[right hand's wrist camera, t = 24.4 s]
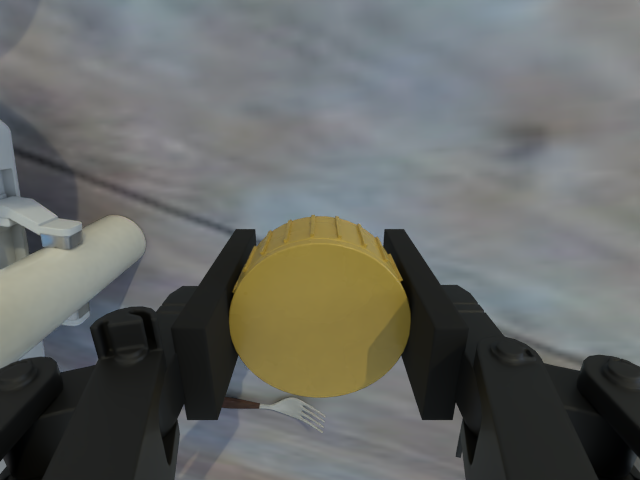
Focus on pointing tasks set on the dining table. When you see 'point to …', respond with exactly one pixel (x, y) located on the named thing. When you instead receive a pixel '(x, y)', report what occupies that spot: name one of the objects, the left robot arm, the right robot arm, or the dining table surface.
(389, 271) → the lid
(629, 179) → the dining table surface
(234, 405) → the fork
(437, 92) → the dining table surface
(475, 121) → the dining table surface
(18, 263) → the bottle
